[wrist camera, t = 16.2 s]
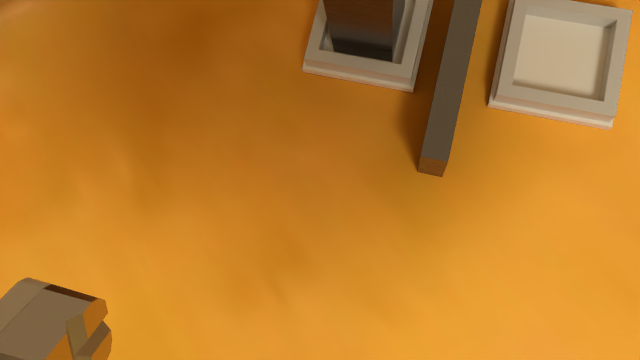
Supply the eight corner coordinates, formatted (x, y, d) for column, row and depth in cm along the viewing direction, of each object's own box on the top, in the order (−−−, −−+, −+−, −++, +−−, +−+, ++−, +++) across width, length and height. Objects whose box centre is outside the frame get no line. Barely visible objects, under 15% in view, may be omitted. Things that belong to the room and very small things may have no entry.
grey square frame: (626, 20, 39) (637, 7, 37) (608, 129, 38) (619, 121, 36) (508, 1, 40) (513, -13, 38) (487, 106, 39) (491, 97, 37)
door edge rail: (494, -71, 41) (505, -110, 38) (442, 176, 38) (447, 161, 34) (471, -74, 42) (479, -113, 38) (417, 171, 38) (420, 156, 35)
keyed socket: (436, -10, 41) (438, -24, 39) (412, 92, 40) (413, 82, 38) (329, -27, 42) (326, -42, 40) (303, 72, 41) (299, 61, 39)
